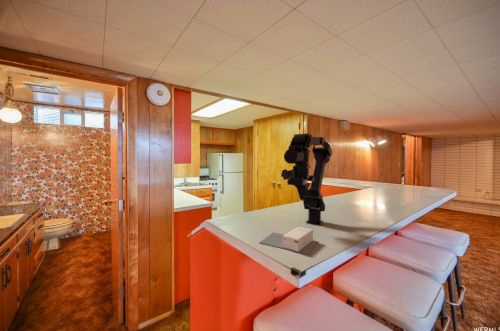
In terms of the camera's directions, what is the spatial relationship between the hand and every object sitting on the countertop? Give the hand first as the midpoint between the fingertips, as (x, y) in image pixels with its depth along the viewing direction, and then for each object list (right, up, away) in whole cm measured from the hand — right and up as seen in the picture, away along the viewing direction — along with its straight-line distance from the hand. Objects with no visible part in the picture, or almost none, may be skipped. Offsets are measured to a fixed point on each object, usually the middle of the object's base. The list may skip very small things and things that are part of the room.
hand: (301, 199), depth 88 cm
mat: (-8, -13, -13) cm, 20 cm away
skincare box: (-1, -11, -10) cm, 15 cm away
